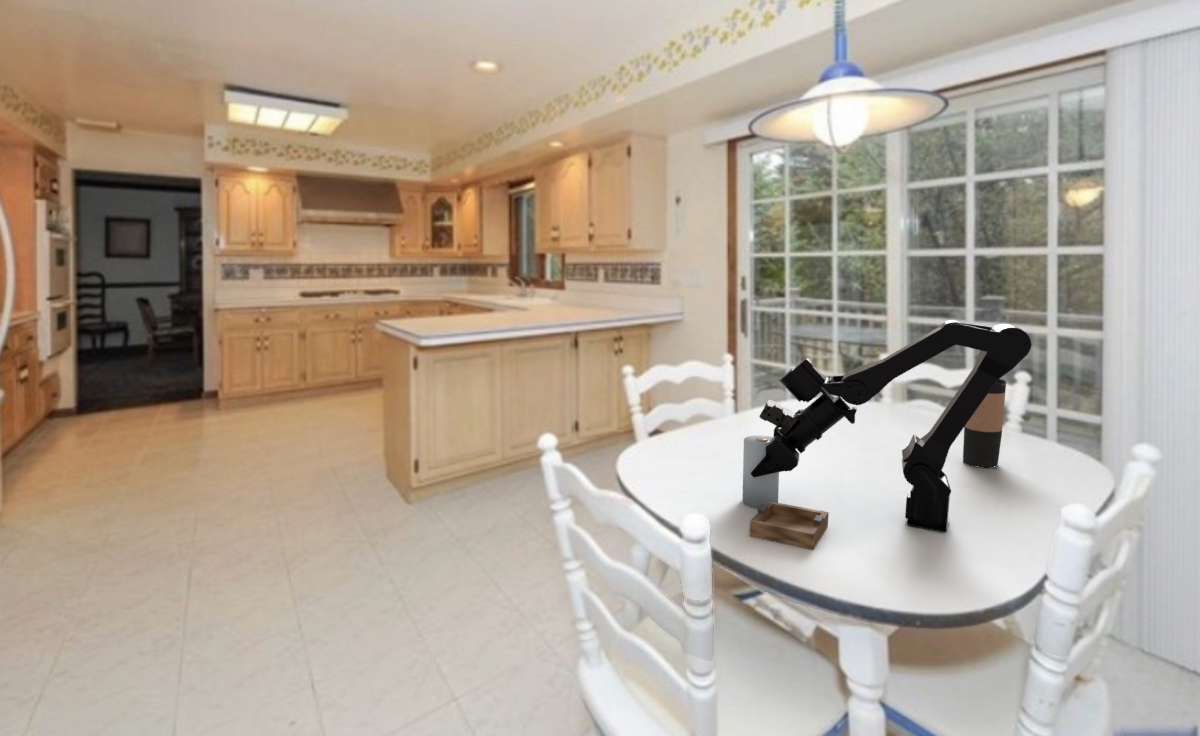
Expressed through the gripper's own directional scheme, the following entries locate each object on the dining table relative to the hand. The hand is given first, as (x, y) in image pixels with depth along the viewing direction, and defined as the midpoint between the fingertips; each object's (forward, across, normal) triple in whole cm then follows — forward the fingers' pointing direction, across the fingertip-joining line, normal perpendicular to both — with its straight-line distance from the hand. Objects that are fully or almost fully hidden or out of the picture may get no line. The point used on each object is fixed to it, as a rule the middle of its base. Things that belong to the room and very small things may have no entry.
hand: (755, 468), depth 130 cm
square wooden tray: (-1, +12, +11) cm, 16 cm away
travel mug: (-28, -42, +38) cm, 63 cm away
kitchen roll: (+4, 0, +6) cm, 7 cm away
